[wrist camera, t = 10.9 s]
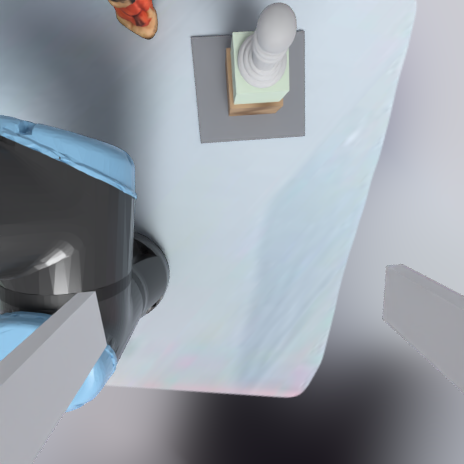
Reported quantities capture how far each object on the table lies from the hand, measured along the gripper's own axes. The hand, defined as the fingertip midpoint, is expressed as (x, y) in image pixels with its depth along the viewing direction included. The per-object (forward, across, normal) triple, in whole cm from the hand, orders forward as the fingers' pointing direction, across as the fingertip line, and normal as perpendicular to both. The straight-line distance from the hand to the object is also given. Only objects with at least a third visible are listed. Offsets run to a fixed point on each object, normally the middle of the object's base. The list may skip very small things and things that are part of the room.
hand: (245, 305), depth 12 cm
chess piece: (+22, +5, +17) cm, 28 cm away
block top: (+26, +5, +17) cm, 32 cm away
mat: (+32, +5, +17) cm, 36 cm away
